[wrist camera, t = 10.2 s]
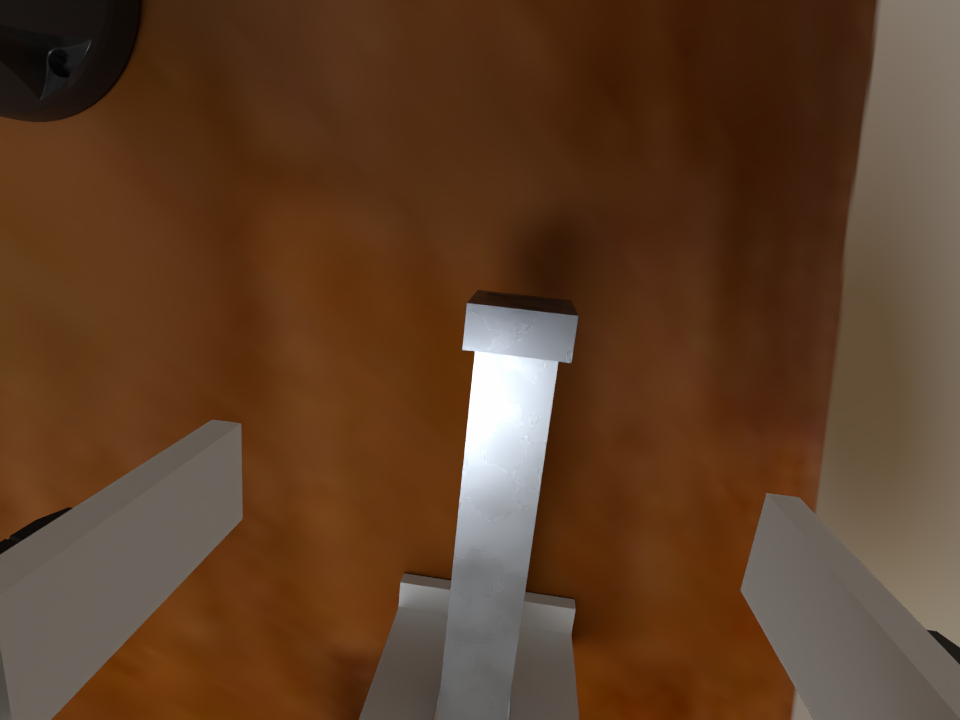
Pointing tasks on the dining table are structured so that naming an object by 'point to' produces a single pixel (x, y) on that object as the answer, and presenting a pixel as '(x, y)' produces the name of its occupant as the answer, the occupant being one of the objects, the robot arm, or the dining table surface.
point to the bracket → (420, 650)
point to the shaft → (499, 492)
